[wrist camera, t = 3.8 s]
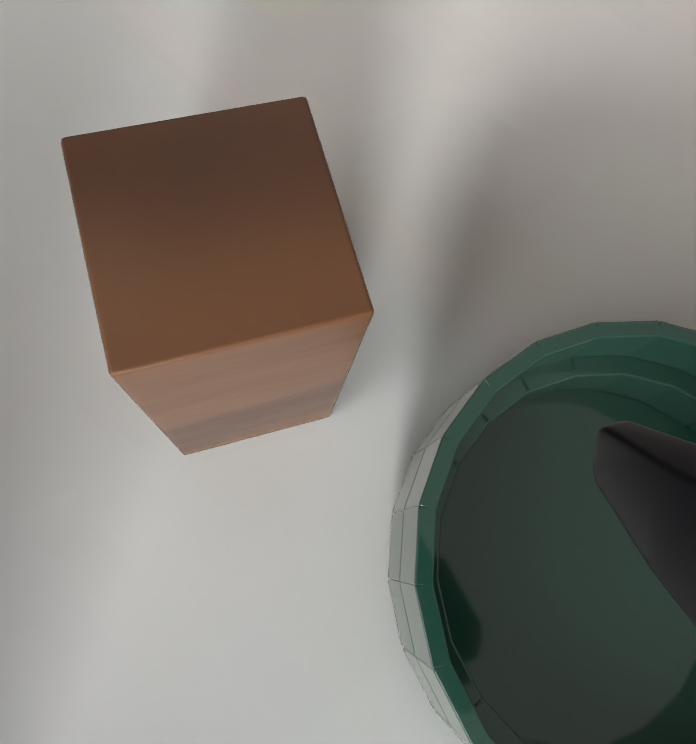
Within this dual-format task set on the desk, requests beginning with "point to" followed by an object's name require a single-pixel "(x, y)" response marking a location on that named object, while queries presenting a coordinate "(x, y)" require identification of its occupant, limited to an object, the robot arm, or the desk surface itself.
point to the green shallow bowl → (546, 550)
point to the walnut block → (220, 269)
